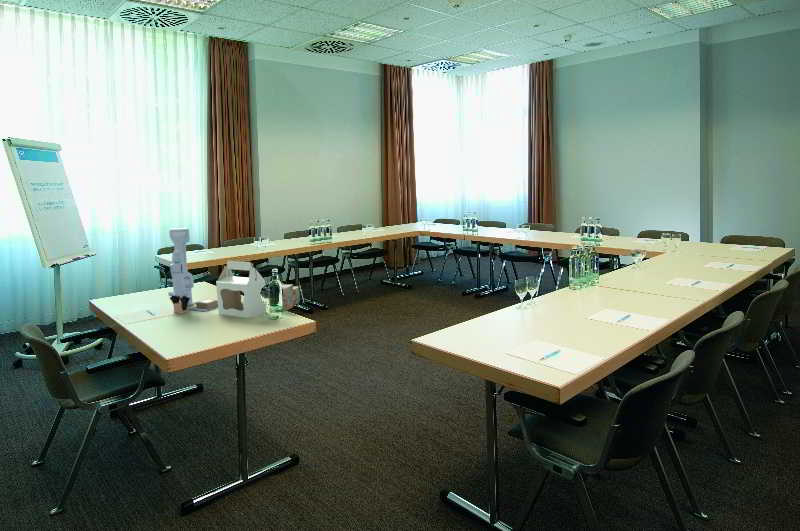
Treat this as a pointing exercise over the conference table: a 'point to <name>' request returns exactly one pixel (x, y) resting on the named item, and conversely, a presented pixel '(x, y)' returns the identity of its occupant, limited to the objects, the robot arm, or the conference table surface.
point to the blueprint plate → (205, 305)
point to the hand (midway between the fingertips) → (181, 309)
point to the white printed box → (290, 296)
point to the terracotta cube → (179, 308)
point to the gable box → (231, 291)
